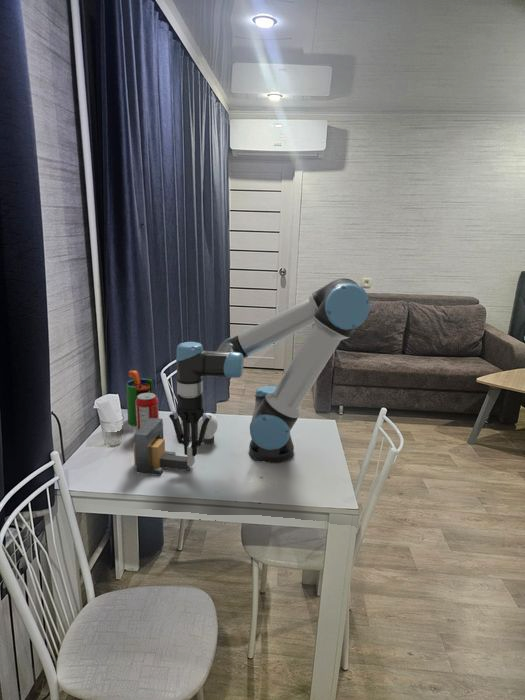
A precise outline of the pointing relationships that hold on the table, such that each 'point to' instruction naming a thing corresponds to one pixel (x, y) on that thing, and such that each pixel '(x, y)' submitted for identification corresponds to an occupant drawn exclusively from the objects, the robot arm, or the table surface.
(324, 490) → the table surface
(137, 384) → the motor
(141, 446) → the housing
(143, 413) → the soda can
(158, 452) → the plug
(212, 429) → the light bulb
